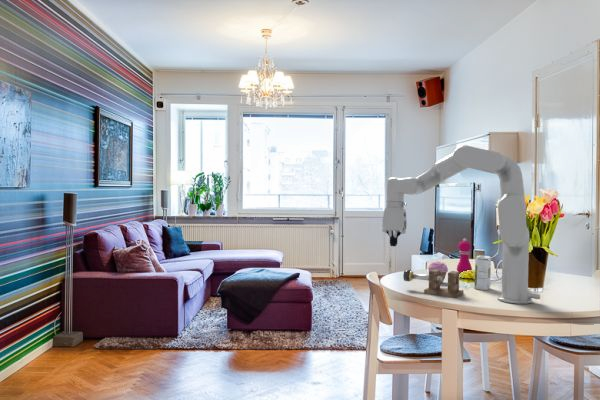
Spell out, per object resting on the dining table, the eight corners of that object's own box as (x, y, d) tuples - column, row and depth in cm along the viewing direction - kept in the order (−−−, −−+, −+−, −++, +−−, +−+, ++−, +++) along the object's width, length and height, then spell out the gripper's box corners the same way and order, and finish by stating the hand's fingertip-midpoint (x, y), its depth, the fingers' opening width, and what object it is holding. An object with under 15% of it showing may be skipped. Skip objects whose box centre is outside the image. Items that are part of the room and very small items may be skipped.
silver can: (476, 286, 216) (477, 255, 215) (490, 288, 213) (491, 256, 212) (474, 289, 211) (474, 256, 210) (488, 290, 208) (488, 257, 207)
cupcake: (424, 282, 226) (425, 261, 226) (434, 279, 232) (434, 259, 232) (441, 284, 220) (442, 263, 219) (451, 282, 226) (451, 261, 225)
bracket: (463, 293, 200) (463, 271, 200) (457, 297, 193) (457, 274, 192) (430, 289, 208) (431, 268, 208) (423, 293, 200) (424, 271, 200)
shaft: (443, 284, 203) (443, 272, 203) (439, 286, 199) (439, 274, 199) (407, 280, 212) (407, 268, 212) (403, 281, 208) (403, 270, 207)
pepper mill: (472, 279, 234) (473, 239, 234) (457, 278, 236) (458, 238, 235) (470, 276, 241) (471, 237, 241) (455, 276, 243) (456, 237, 242)
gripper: (413, 205, 211) (412, 246, 212) (382, 204, 219) (381, 243, 220) (407, 206, 205) (406, 248, 205) (376, 204, 213) (374, 245, 214)
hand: (393, 245), depth 213 cm, fingers closed
